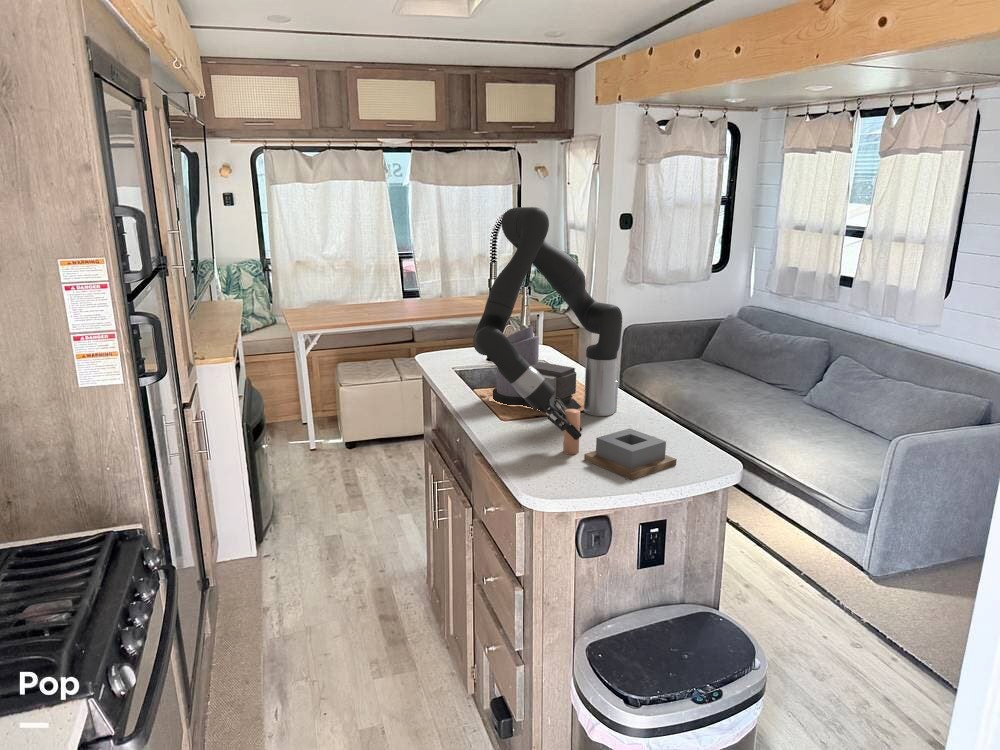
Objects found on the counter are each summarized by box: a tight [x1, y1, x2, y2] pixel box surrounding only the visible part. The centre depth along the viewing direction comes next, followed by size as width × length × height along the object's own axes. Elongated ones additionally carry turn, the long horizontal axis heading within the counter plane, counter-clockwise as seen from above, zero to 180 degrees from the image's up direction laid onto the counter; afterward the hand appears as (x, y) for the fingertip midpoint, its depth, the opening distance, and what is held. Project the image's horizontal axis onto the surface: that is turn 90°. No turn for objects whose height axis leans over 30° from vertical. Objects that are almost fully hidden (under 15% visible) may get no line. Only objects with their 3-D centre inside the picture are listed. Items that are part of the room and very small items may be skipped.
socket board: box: [583, 450, 677, 481], centre depth 178 cm, size 16×16×2 cm
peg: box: [562, 409, 581, 456], centre depth 184 cm, size 4×4×11 cm
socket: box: [595, 427, 667, 469], centre depth 177 cm, size 12×12×4 cm
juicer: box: [492, 326, 582, 413], centre depth 224 cm, size 30×16×24 cm, turn 53°
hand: (579, 434), depth 183 cm, fingers closed on peg, 4 cm apart
